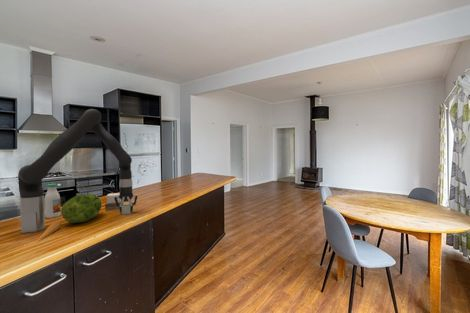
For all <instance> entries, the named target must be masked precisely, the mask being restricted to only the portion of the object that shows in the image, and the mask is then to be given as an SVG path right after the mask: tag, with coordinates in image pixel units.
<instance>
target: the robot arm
mask: <svg viewBox="0 0 470 313" xmlns="http://www.w3.org/2000/svg"><path fill="white" fill-rule="evenodd" d="M101 120H102V114H101V112H100V111H99V110H97V109H95V108H89V109H86V110H85V111H84V113H83V114H82V115H81V116H80V118H78V119H77V121H75V123H73V124H72V125H70V127H68V128H66V129H65V130H63V131H62V133H60V134H58V136H57V137H55V139H53V140H52V142H51V143H49V145H48V146H47V148H45V150H44V152H43V153H42V154H41V156H39V157H38V158H37V159H36V160H35V161H34V162H32V163H31V164H27V165H24V166H22V167H21V168H20V169H19V171H18V174H17V175H18V176H17V178H18V180H17V181H18V190H19V191H18V192H19V200H20V204H19V205H20V226H21V227H20V228H21V229H20V230H21V234H25V233H35V232H38V231H41V230H44V229H46V222H45V220H46V219H45V218H46V217H45V202H44V201H45V191H44V187H43V180H44V178H45V177H46V176H47V174H48V173H49V172H50V171H51V169H53V167H54V166H55V165H56V164H57V163H58V162H60V161H61V160H62V159H63V158H64V157H65V156H67V154H68V153H70V152H71V151H72V150H73V149H74V148H75V147H76V146H77V145H78V143H79V142H80V141H81V140H82V138H84V136H85V135H86V133H88V131H90V130H91V131H92V132H93V134H95V135H96V136H97V138H98V139H100V140H101V141H102V143H103V144H104V145H105V147H107V149H108V151H109V152H111V154H112V155H114V156H115V158H116V159H117V161H118V164H119V165H118V166H119V181H118V182H119V193H120V195H119V196H117V197H115V198H114V199H115V203H116V206H119V207H120V210H119V212H120V213H121V214H122V204H123V205H124V203H127V202H128V203H129V204H130V205H131V206H130V210H131V213H132V211H134V206H135V205H137V200H138V195H135V194H134V193H133V178H132V177H133V175H132V170H131V168H132V162H133V159H132V157H131V156H130V155H129V153H128V152H127V151H126V150H125V149H124V148H123V146H122V144H121V143H119V141H118V140H117V139H116V138H115V137H114V136H113V135H112V134H111V133H110V132H109V131H107V130H106V129H105V127H104V125H102V123H101ZM119 198H120V199H121V200H122V201H121V203H120V204H119V203H118V199H119ZM132 199H134V200H133V201H134V202H133V201H132Z"/></svg>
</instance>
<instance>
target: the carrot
mask: <svg viewBox="0 0 470 313" xmlns="http://www.w3.org/2000/svg"><path fill="white" fill-rule="evenodd" d="M61 227H62V223H61V221H58V220H57V221H52V223H50V224H49V226H48V227H47V229H46V228H45V231H44V232H43V233H42V234H41V235H40V237H39V238H38V239H37V241H36V243H38V242H40V241H41V240H43V239H46V237H48V236H50V235H51V234H53V233H54V232H56V231H58V230H59V229H60V228H61Z"/></svg>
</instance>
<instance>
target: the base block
mask: <svg viewBox="0 0 470 313" xmlns="http://www.w3.org/2000/svg"><path fill="white" fill-rule="evenodd" d="M121 201H122V200H121ZM118 203H119V204H120V203H121V202H118ZM122 205H124V203H123V204H122ZM104 209H105V211H106V212H107V211H120V207H119V206H116V203H107V201H106V202H105V204H104Z"/></svg>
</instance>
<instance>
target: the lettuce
mask: <svg viewBox="0 0 470 313" xmlns="http://www.w3.org/2000/svg"><path fill="white" fill-rule="evenodd" d="M102 205H103V201H102V199H101V198H100V197H99V196H98V195H96V194H92V193H82V194H76V195H75V196H73V197H71V198H70V199H67V200H66V201H65V202H64V203H63V205H62V207H61V216H62V218H63V219H64V220H65V221H66V222H67V223H69V224H70V223H71V224H78V223H83V222H87V221H89V220H91V219H93V218H94V217H96V216H97V215H98V214H99V213H100V211H101V208H102Z"/></svg>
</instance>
